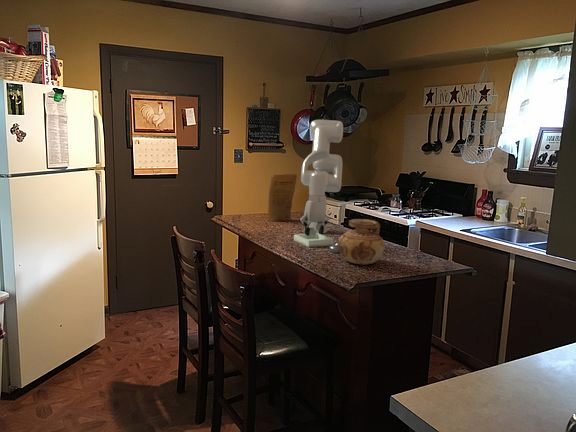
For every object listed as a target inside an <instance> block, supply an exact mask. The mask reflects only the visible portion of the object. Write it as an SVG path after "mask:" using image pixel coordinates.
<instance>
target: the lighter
mask: <svg viewBox="0 0 576 432" xmlns="http://www.w3.org/2000/svg"><path fill="white" fill-rule="evenodd" d="M321 225H322V223H321V222H318V223H317V225H316V227H315V229H314V228H313V227H310V233H309V236H307V238H308V239H315V238H316V230H317V231H319V229H320V227H321Z"/></svg>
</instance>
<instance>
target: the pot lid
mask: <svg viewBox="0 0 576 432" xmlns="http://www.w3.org/2000/svg"><path fill="white" fill-rule="evenodd" d="M338 243H339V242H337V243H334V244H332V245H329V246H328V251H329V252H330V253H332V254H336V255H337V254H340V251H339V246H338ZM340 255H341V254H340Z"/></svg>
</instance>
